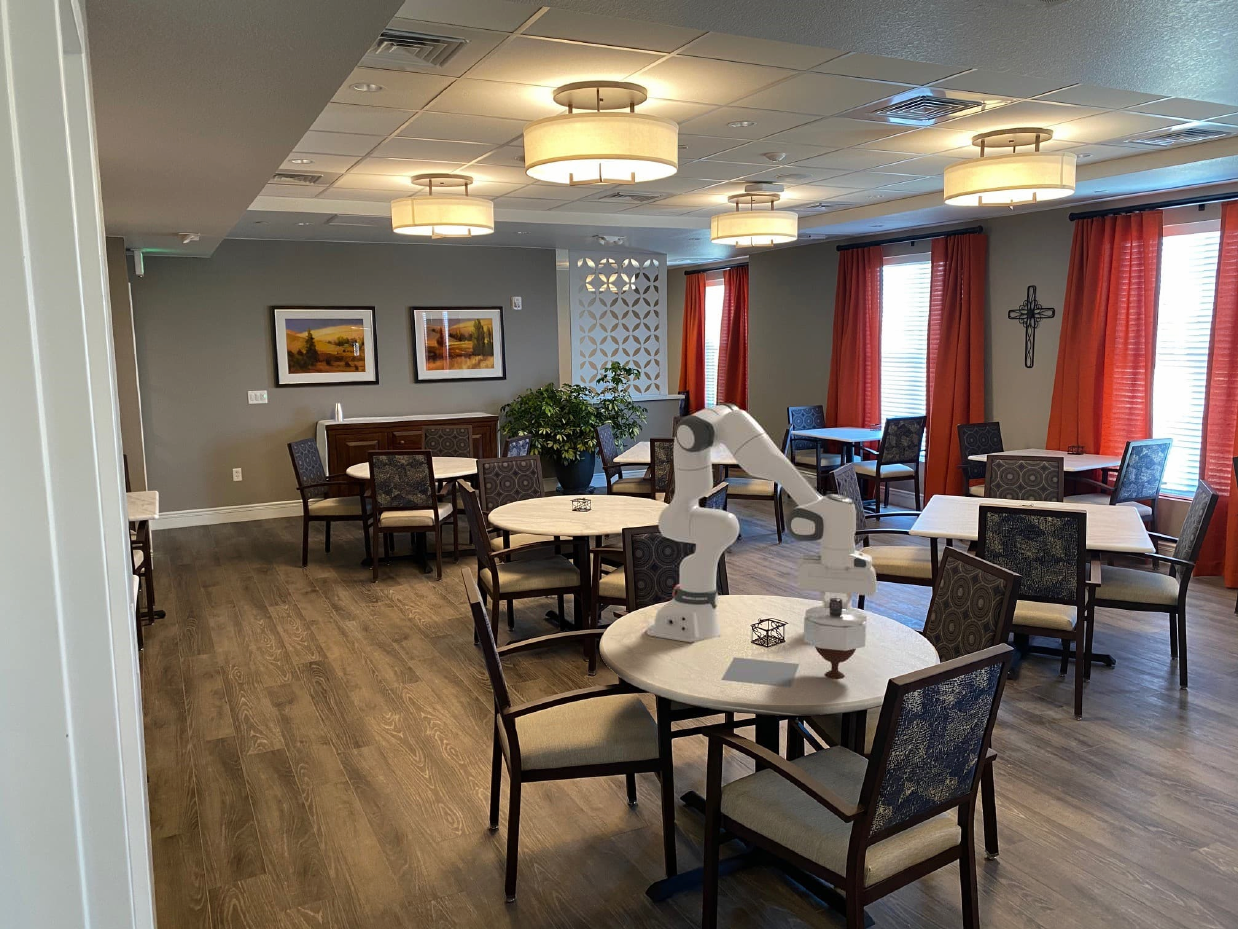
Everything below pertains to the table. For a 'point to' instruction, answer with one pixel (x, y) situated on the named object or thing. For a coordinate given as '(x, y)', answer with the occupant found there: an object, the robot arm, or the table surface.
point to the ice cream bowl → (835, 660)
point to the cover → (835, 627)
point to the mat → (761, 672)
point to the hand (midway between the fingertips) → (835, 608)
